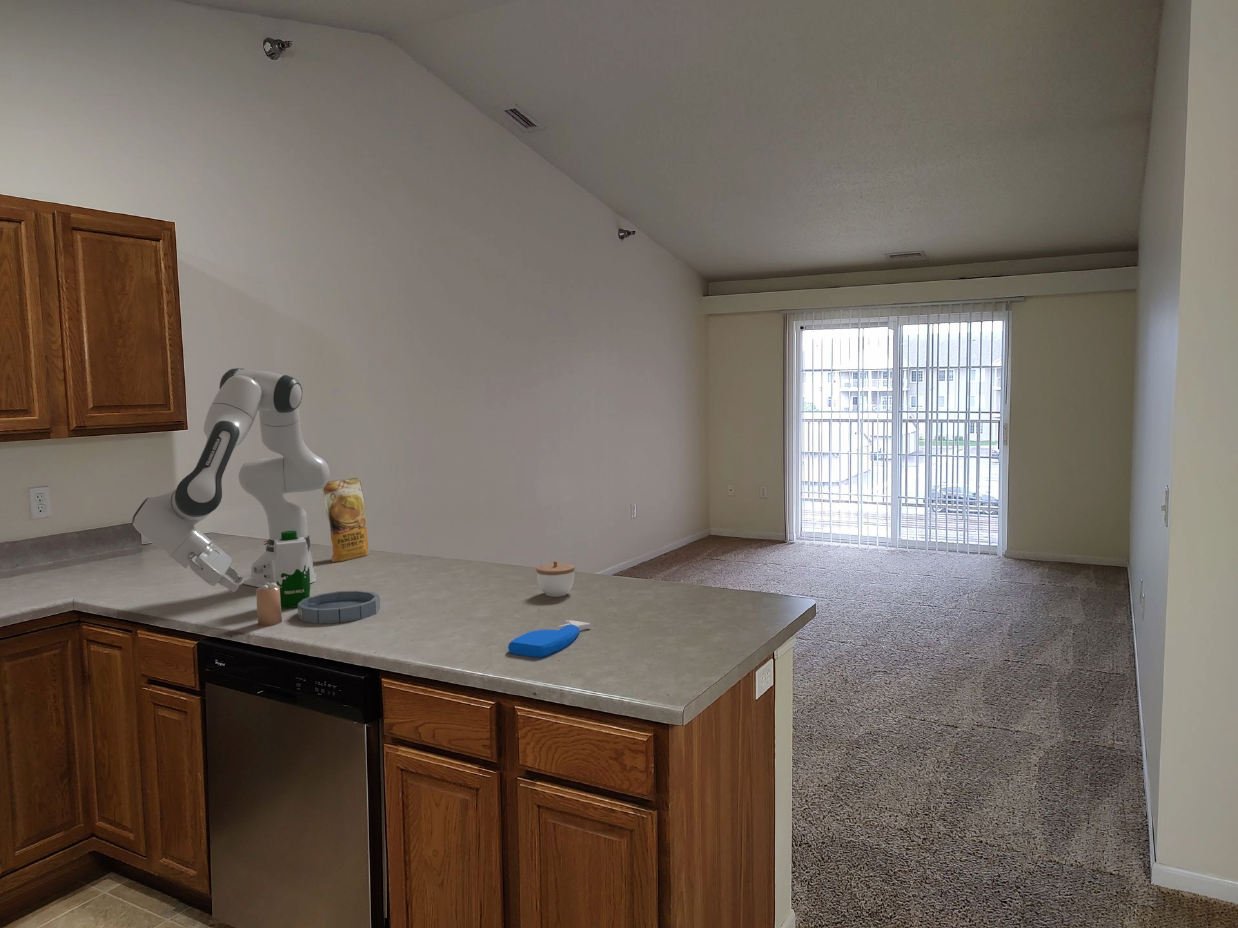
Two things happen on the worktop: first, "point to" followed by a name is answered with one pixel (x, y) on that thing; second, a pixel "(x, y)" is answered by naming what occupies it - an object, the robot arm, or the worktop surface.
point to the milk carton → (292, 568)
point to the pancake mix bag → (346, 519)
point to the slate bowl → (338, 606)
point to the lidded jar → (555, 578)
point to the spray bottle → (546, 640)
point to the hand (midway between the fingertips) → (239, 585)
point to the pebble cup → (268, 604)
